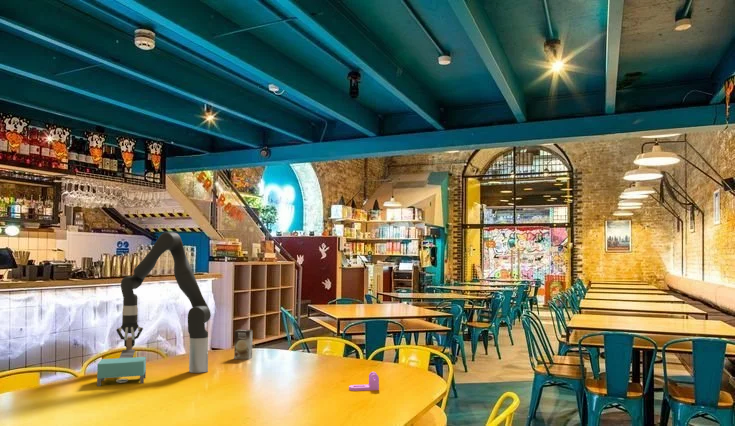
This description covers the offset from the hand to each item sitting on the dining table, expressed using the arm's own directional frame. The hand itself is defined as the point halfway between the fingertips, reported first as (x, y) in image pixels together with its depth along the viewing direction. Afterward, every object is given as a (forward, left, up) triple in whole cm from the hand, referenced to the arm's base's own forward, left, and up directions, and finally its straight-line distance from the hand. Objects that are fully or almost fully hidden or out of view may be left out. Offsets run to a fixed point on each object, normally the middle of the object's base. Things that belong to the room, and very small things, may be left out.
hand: (129, 346), depth 313 cm
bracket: (-105, +82, -12) cm, 134 cm away
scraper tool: (0, +9, -3) cm, 10 cm away
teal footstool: (0, +33, -11) cm, 34 cm away
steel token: (0, +33, -12) cm, 35 cm away
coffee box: (-60, -11, -12) cm, 62 cm away
